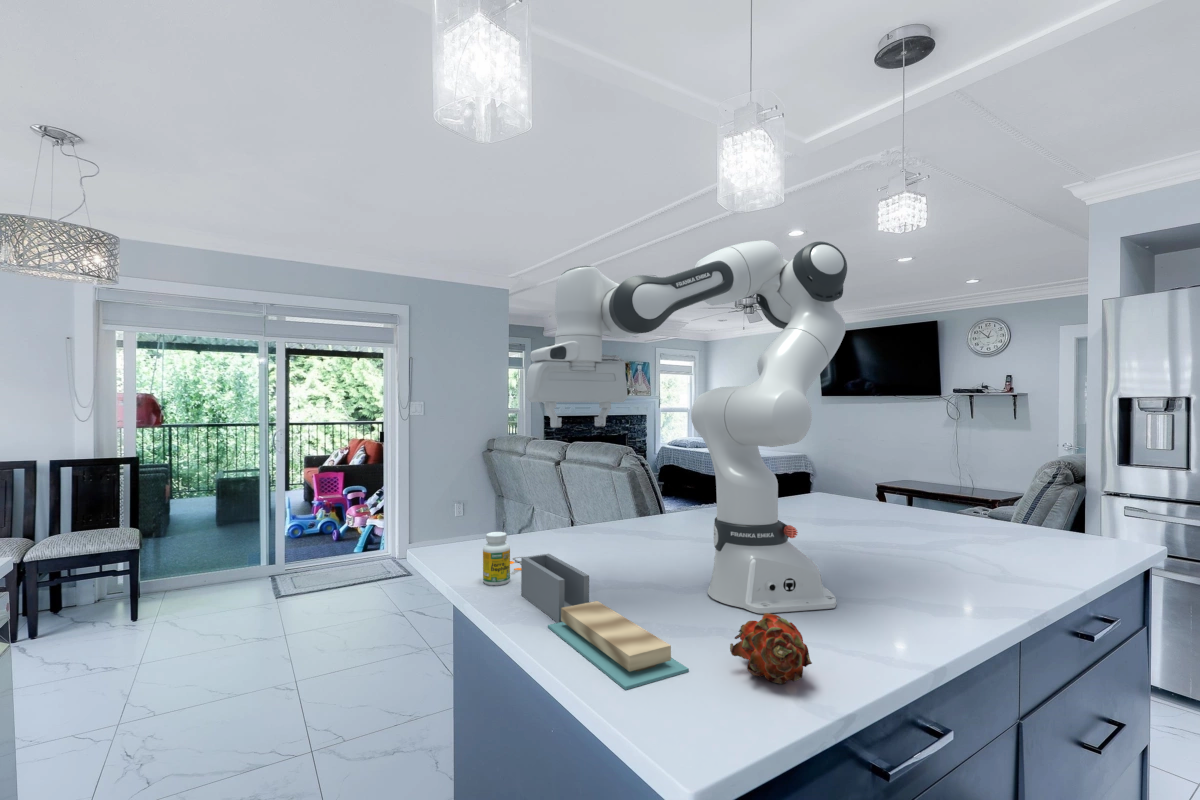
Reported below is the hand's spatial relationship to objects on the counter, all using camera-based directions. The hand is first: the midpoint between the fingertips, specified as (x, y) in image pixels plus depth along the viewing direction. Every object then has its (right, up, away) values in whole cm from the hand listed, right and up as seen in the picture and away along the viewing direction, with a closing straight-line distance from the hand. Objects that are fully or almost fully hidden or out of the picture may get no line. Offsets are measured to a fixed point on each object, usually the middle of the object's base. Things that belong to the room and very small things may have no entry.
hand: (578, 426), depth 108 cm
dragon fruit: (+26, -31, -32) cm, 52 cm away
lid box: (-4, -31, -7) cm, 32 cm away
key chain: (-14, -32, +19) cm, 39 cm away
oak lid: (+6, -31, -24) cm, 39 cm away
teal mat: (+6, -31, -24) cm, 40 cm away
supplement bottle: (-17, -32, +7) cm, 36 cm away
